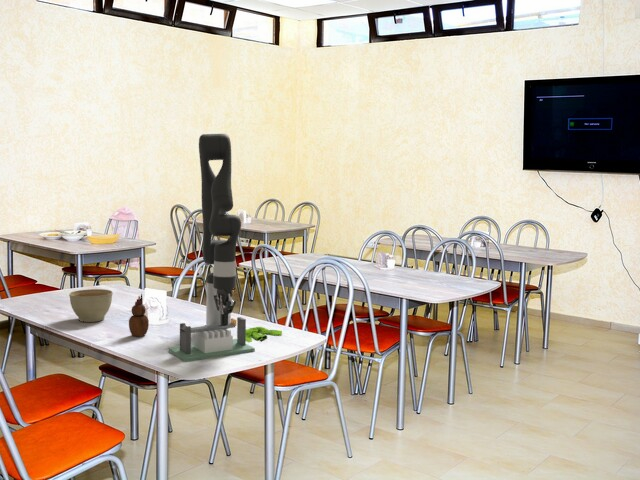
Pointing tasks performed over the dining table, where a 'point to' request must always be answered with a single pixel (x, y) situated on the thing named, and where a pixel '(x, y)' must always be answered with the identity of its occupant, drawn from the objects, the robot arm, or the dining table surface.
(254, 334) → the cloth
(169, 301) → the dining table surface
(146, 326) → the wooden figurine
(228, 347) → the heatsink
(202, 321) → the dining table surface
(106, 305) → the planter bowl
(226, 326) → the wood-capped grey post
